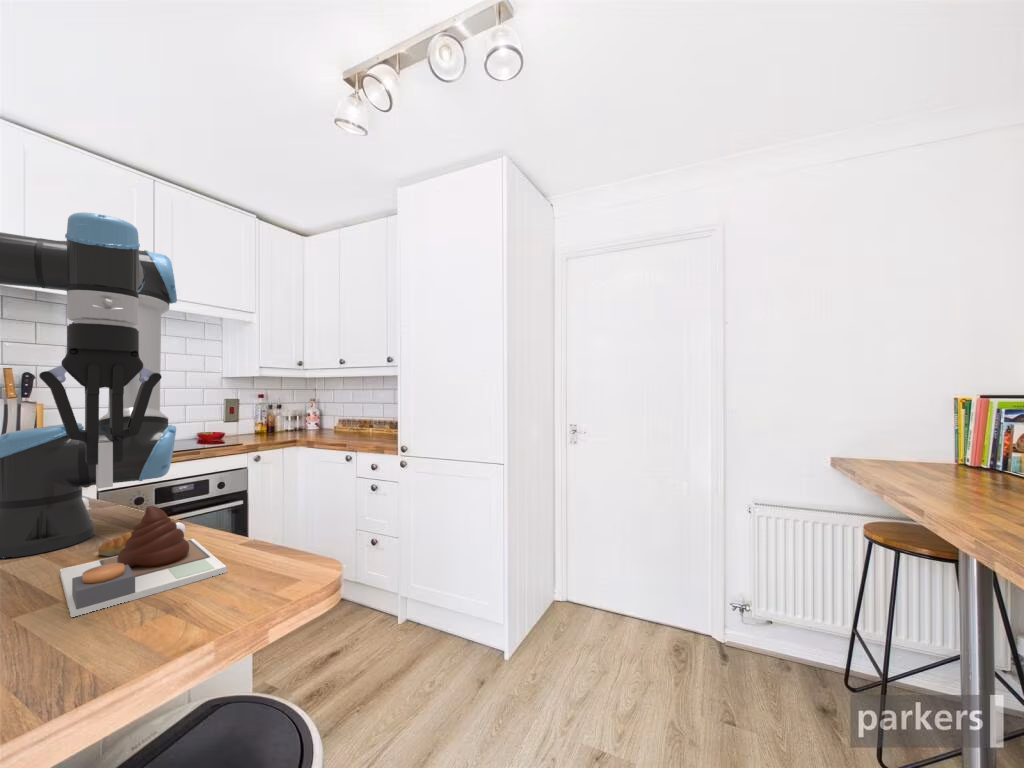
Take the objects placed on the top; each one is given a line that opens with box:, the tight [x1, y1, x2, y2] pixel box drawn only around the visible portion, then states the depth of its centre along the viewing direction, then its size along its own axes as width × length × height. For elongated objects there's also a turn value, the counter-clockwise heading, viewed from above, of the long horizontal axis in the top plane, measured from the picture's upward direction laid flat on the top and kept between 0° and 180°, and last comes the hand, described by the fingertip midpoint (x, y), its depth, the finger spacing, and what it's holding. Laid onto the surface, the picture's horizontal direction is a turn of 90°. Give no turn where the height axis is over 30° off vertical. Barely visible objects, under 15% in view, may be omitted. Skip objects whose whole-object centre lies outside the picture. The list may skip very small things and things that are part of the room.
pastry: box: [97, 530, 133, 557], centre depth 80 cm, size 9×7×4 cm
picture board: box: [59, 538, 227, 618], centre depth 70 cm, size 20×18×4 cm
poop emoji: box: [117, 505, 189, 567], centre depth 73 cm, size 10×8×9 cm
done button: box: [82, 563, 125, 583], centre depth 61 cm, size 4×4×3 cm
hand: (104, 485), depth 61 cm, fingers closed
